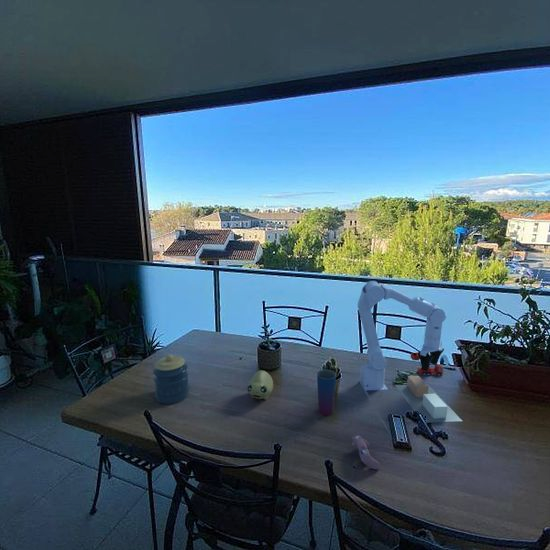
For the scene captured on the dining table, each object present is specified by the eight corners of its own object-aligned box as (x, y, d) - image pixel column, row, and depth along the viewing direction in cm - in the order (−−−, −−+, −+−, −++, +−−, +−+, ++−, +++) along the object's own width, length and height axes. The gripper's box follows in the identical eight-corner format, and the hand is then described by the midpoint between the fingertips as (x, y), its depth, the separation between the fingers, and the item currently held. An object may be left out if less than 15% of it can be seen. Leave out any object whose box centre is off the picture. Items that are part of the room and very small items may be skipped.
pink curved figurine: (356, 450, 102) (347, 434, 100) (369, 444, 102) (360, 427, 100) (367, 476, 92) (358, 458, 91) (382, 469, 92) (372, 450, 91)
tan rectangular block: (416, 397, 126) (417, 386, 125) (406, 386, 134) (407, 376, 133) (427, 396, 126) (428, 386, 126) (417, 385, 134) (418, 375, 133)
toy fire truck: (443, 376, 142) (445, 356, 140) (411, 375, 144) (413, 355, 142) (440, 373, 146) (442, 353, 144) (408, 371, 147) (410, 351, 145)
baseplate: (423, 424, 112) (423, 422, 111) (394, 386, 135) (394, 385, 135) (462, 422, 112) (462, 421, 112) (427, 385, 136) (427, 384, 136)
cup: (336, 407, 121) (337, 371, 118) (333, 419, 115) (334, 380, 112) (318, 404, 123) (319, 368, 120) (314, 415, 117) (315, 377, 114)
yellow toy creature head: (243, 405, 123) (242, 379, 121) (252, 388, 134) (251, 364, 132) (268, 408, 121) (268, 382, 119) (275, 391, 132) (275, 367, 130)
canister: (153, 407, 122) (148, 364, 119) (157, 388, 135) (154, 349, 131) (188, 402, 125) (185, 360, 121) (190, 385, 137) (187, 346, 134)
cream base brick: (433, 418, 114) (434, 406, 113) (422, 404, 121) (423, 393, 120) (446, 417, 114) (447, 406, 113) (434, 404, 122) (435, 393, 121)
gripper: (434, 343, 121) (431, 376, 124) (450, 333, 130) (447, 365, 133) (416, 337, 126) (413, 369, 129) (433, 328, 135) (429, 359, 138)
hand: (429, 367), depth 131 cm, fingers open, 7 cm apart
